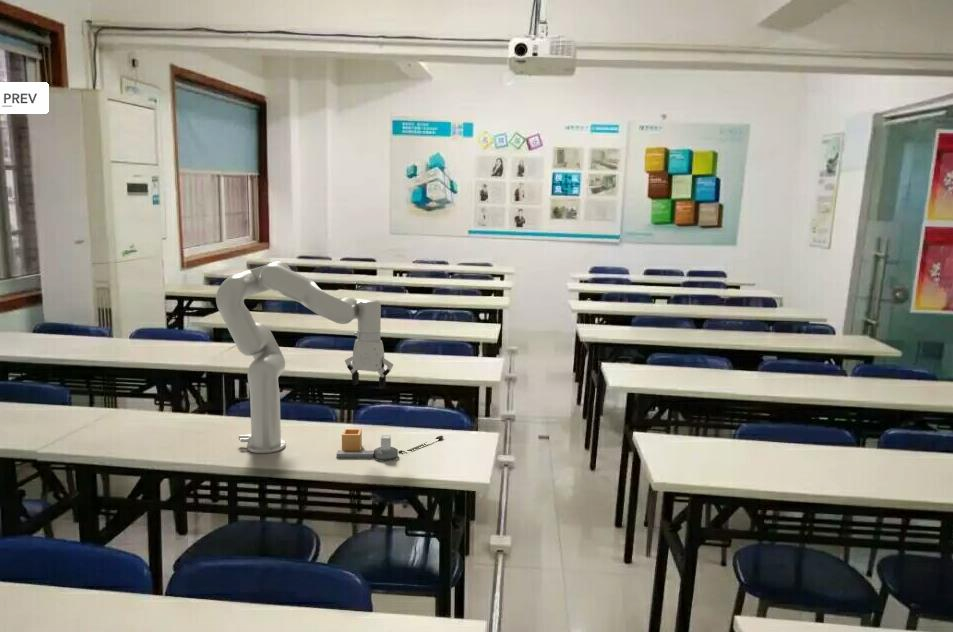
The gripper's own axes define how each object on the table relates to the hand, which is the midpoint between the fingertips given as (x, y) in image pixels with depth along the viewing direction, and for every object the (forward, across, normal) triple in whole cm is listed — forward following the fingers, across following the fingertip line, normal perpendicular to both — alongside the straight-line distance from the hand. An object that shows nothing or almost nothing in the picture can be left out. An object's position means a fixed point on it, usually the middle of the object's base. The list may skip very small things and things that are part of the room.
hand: (368, 386), depth 225 cm
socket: (+22, -5, -2) cm, 23 cm away
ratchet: (+22, +3, -7) cm, 23 cm away
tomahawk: (+23, +18, +8) cm, 30 cm away
